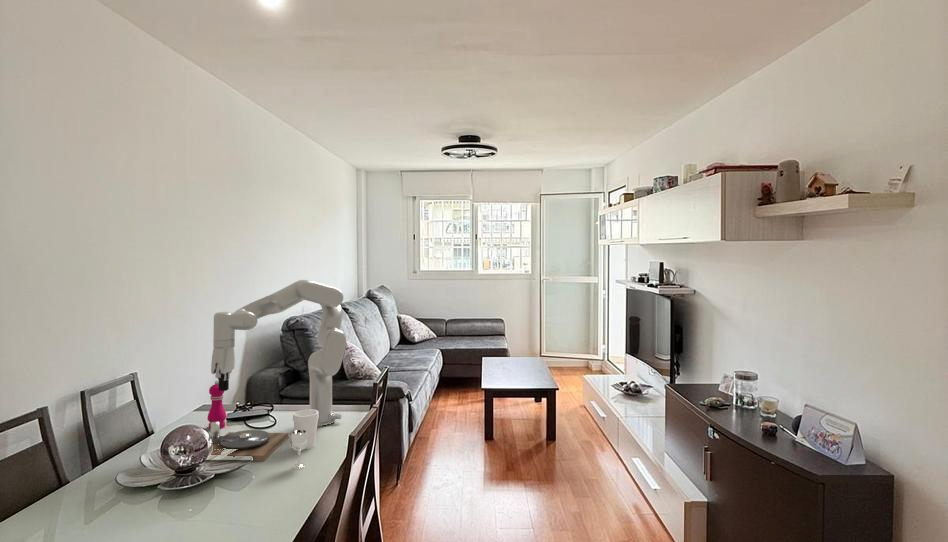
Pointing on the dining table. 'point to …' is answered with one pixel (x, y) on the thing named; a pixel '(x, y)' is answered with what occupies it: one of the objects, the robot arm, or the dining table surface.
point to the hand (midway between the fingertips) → (223, 390)
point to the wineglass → (299, 445)
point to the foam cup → (307, 424)
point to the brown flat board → (256, 452)
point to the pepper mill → (216, 406)
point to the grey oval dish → (238, 438)
